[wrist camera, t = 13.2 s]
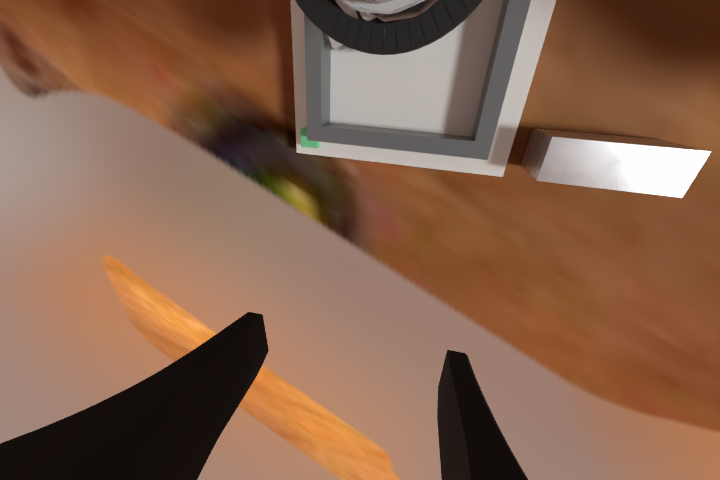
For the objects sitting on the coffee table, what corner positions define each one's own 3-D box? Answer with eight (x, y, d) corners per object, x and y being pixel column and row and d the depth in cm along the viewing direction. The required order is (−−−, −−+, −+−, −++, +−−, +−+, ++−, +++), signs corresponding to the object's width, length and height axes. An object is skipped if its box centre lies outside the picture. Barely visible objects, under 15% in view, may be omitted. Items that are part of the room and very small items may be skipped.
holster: (857, -223, 9) (1021, -342, 7) (640, 178, 16) (682, 197, 13) (642, -206, 10) (712, -305, 8) (520, 165, 16) (536, 180, 14)
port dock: (616, -227, 10) (666, -310, 8) (499, 172, 17) (508, 184, 15) (292, -198, 12) (261, -259, 10) (303, 149, 19) (286, 157, 17)
